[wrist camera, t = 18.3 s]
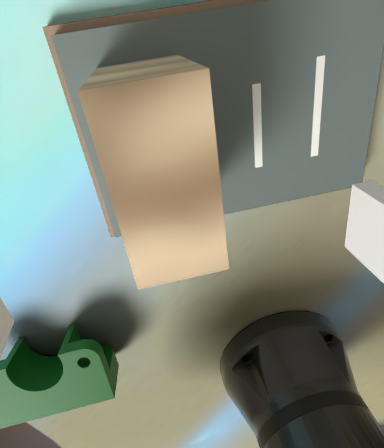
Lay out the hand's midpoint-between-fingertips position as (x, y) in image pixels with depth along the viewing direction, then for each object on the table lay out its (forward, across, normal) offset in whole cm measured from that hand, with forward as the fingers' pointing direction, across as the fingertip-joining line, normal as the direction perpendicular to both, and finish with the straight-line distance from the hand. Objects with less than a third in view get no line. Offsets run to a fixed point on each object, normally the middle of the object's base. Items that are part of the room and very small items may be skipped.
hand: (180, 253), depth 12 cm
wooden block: (+13, 0, -1) cm, 13 cm away
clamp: (+16, +14, +19) cm, 28 cm away
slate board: (+15, -6, -1) cm, 16 cm away
